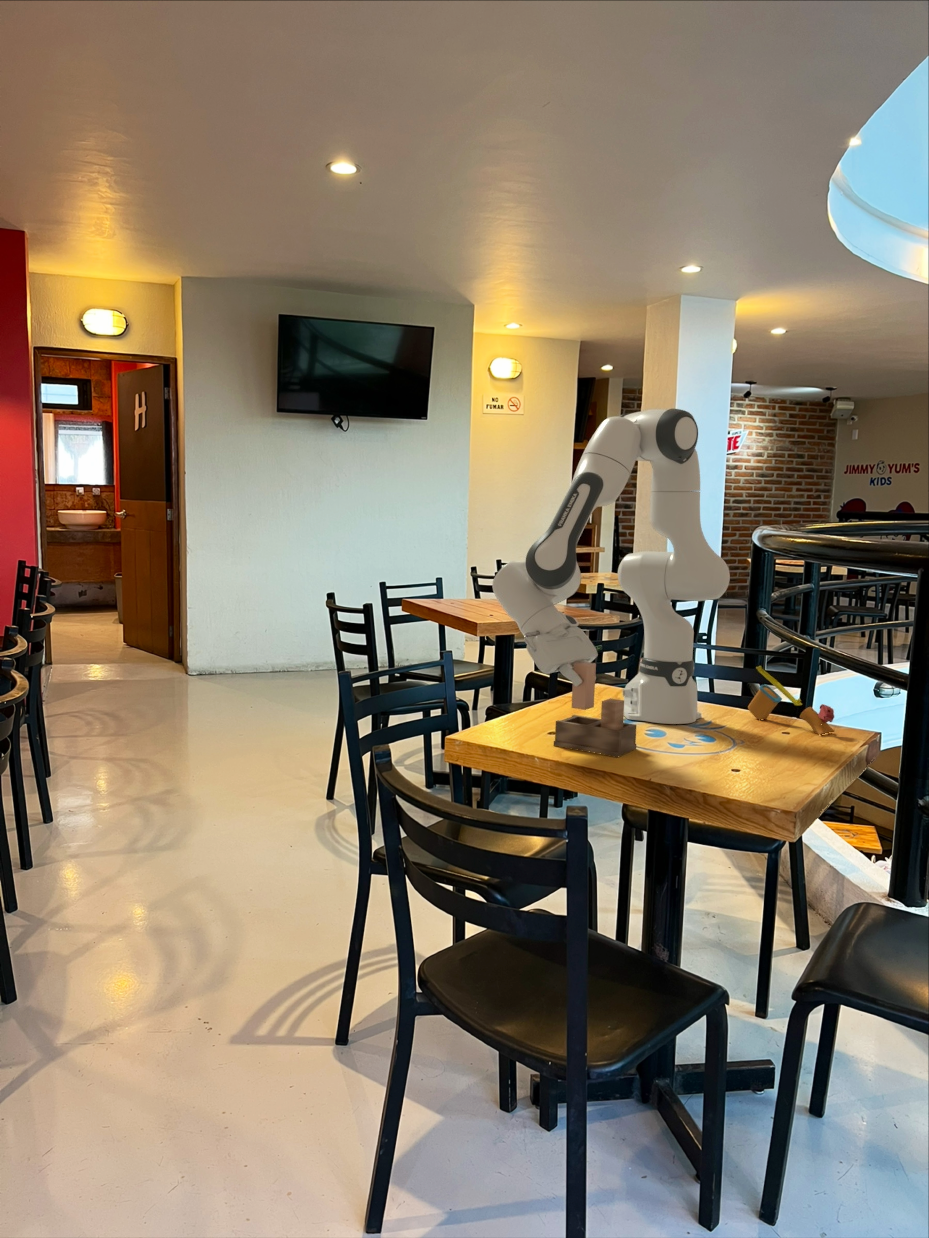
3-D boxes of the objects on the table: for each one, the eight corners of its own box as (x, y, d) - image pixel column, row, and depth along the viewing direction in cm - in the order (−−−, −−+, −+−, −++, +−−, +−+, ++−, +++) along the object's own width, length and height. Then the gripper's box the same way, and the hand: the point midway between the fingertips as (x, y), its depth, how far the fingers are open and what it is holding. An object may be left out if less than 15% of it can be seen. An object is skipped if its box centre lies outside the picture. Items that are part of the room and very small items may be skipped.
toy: (744, 697, 222) (774, 650, 214) (811, 763, 208) (846, 715, 200) (730, 699, 219) (760, 652, 210) (797, 767, 205) (832, 718, 197)
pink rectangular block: (571, 707, 183) (573, 663, 182) (580, 705, 186) (582, 661, 186) (584, 709, 181) (587, 665, 181) (593, 707, 185) (595, 663, 184)
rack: (553, 745, 183) (555, 697, 182) (574, 737, 191) (576, 691, 190) (617, 757, 176) (619, 706, 175) (636, 748, 183) (638, 699, 182)
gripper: (530, 623, 178) (573, 678, 173) (578, 617, 194) (618, 667, 190) (510, 643, 180) (551, 698, 176) (559, 636, 197) (598, 686, 193)
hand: (586, 682), depth 183 cm, fingers closed on pink rectangular block, 4 cm apart
